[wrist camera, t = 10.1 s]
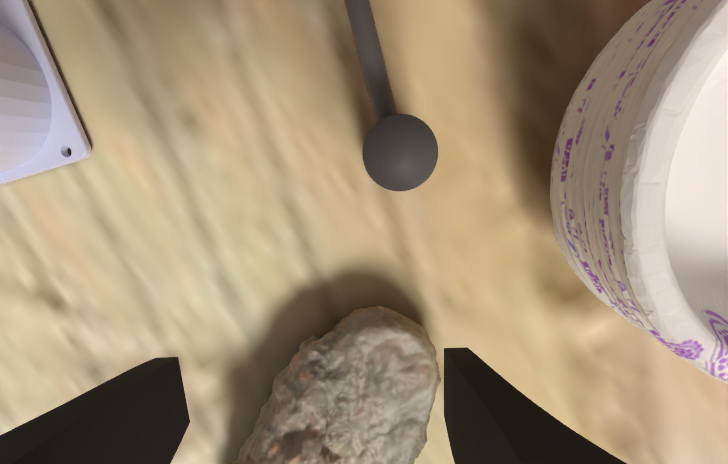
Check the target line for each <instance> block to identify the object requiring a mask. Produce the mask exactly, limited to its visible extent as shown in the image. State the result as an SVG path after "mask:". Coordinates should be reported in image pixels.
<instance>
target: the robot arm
mask: <svg viewBox="0 0 728 464" xmlns="http://www.w3.org/2000/svg"><path fill="white" fill-rule="evenodd" d="M68 148H70V149H71V152H72V153H71V156H70V155H69V154H68ZM90 154H91V146H90V144H89V141H88V139H87V137H86V135H85V132H84V130H83V128H82V125H81V123H80V121H79V118H78V116H77V114H76V112H75V109H74V107H73V105H72V102H71V100H70V98H69V95H68V93H67V91H66V89H65V86H64V84H63V82H62V79H61V77H60V75H59V72H58V70H57V68H56V66H55V63H54V61H53V59H52V56H51V54H50V52H49V49H48V47H47V45H46V43H45V40H44V38H43V36H42V33H41V31H40V29H39V26H38V24H37V22H36V19H35V17H34V15H33V13H32V10H31V8H30V6H29V3H28V1H27V0H0V185H2V184H5V183H9V182H12V181H15V180H18V179H22V178H25V177H28V176H31V175H35V174H38V173H41V172H44V171H48V170H51V169H54V168H57V167H61V166H64V165H67V164H70V163H74V162H77V161H80V160H83V159H86V158H88V157H89V156H90ZM444 417H445V422H446V427H447V432H448V437H449V441H450V446H451V451H452V455H453V458H454V461H455V464H626V463H625V462H623V461H621V460H620V459H618V458H616V457H614V456H613V455H611V454H609V453H608V452H606V451H605V450H603V449H601V448H600V447H598V446H597V445H595V444H593V443H592V442H590V441H589V440H587V439H585V438H584V437H582V436H581V435H579V434H577V433H576V432H575V431H573V430H572V429H570V428H569V427H567V426H566V425H564V424H563V423H561V422H560V421H558V420H557V419H556V418H554V417H553V416H551V415H550V414H549V413H547V412H546V411H545V410H543V409H542V408H540V407H539V406H538V405H536V404H535V403H534V402H532V401H531V400H530V399H528V398H527V397H526V396H525V395H523V394H522V393H521V392H520V391H518V390H517V389H516V388H515V387H513V386H512V385H511V384H510V383H508V382H507V381H506V380H505V379H504V378H502V377H501V376H500V375H499V374H498V373H496V372H495V371H494V370H493V369H492V368H491V367H489V366H488V365H487V364H486V363H485V362H484V361H483V360H481V359H480V358H479V357H478V356H477V355H476V354H474V353H473V352H472V351H471V350H470V349H468V348H444ZM189 423H190V420H189V414H188V409H187V403H186V398H185V393H184V387H183V382H182V376H181V371H180V365H179V360H178V357H168V358H155V359H152V360H150V361H147V362H145V363H143V364H141V365H138V366H136V367H134V368H132V369H130V370H128V371H126V372H124V373H122V374H120V375H118V376H116V377H114V378H113V379H111V380H109V381H107V382H105V383H103V384H101V385H99V386H97V387H95V388H93V389H92V390H90V391H88V392H86V393H84V394H82V395H80V396H78V397H76V398H74V399H72V400H71V401H69V402H67V403H65V404H63V405H61V406H59V407H57V408H55V409H53V410H51V411H49V412H47V413H45V414H43V415H41V416H39V417H37V418H35V419H33V420H31V421H29V422H27V423H25V424H23V425H21V426H19V427H17V428H15V429H13V430H11V431H9V432H7V433H4V434H2V435H0V464H170V463H171V461H172V459H173V457H174V455H175V453H176V451H177V449H178V447H179V445H180V443H181V441H182V438H183V436H184V434H185V432H186V429H187V427H188V425H189Z"/></svg>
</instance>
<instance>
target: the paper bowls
mask: <svg viewBox="0 0 728 464" xmlns="http://www.w3.org/2000/svg"><path fill="white" fill-rule="evenodd" d="M550 203H551V209H552V217H553V224H554V229H555V235H556V238H557V240H558V242H559V244H560V246H561V248H562V250H563V253H564V255H565V257H566V259H567V261H568V263H569V265H570V267H571V268H572V269H573V271H574V272H575V273H576V274H577V276H578V277H579V278H580V279H581V280H582V281H583V283H584V284H585V285H586V286H587V287H588V288H589V289H590V290H591V291H592V292H593V293H594V294H595V295H596V297H598V298H599V299H600V300H601V301H602V302H604V303H605V304H606V305H608V306H609V307H611V308H612V309H613V310H614V311H616V312H617V313H618V314H619V315H621V316H622V317H623V318H625V319H626V320H627V321H629V322H630V323H632V324H633V325H635V326H636V327H638V328H639V329H641V330H643V331H644V332H646V333H647V334H648V335H650V336H651V337H652V338H654V339H655V340H657V341H658V342H660V343H661V344H663V345H664V346H666V347H667V348H668V349H669V350H671V351H672V352H674V353H675V354H677V355H678V356H679V357H680V358H682V359H684V360H685V361H687V362H689V363H691V364H692V365H693V366H694V367H696V368H698V369H699V370H701V371H702V372H704V373H706V374H707V375H709V376H711V377H713V378H715V379H717V380H720V381H722V382H724V383H726V384H728V0H651V1H649V2H648V3H647V4H645V5H644V6H643V7H642V8H641V9H640V10H639V11H637V12H636V13H635V14H634V15H633V16H632V17H631V18H630V19H629V20H628V21H627V22H626V23H625V24H624V25H623V26H622V27H621V28H620V30H619V31H618V32H617V33H616V34H615V36H614V37H613V38H612V39H611V40H610V41H609V42H608V43H607V45H606V46H605V47H604V48H603V50H602V51H601V52H600V53H599V54H598V56H597V57H596V59H595V60H594V61H593V63H592V64H591V66H590V67H589V69H588V71H587V72H586V74H585V76H584V77H583V79H582V80H581V82H580V83H579V85H578V87H577V89H576V90H575V92H574V94H573V96H572V98H571V100H570V103H569V105H568V107H567V109H566V112H565V115H564V117H563V120H562V123H561V126H560V130H559V133H558V136H557V139H556V143H555V147H554V153H553V158H552V169H551V178H550Z"/></svg>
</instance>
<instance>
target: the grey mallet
mask: <svg viewBox="0 0 728 464" xmlns="http://www.w3.org/2000/svg"><path fill="white" fill-rule="evenodd" d="M345 4H346V8H347V12H348V16H349V20H350V24H351V27H352V31H353V35H354V39H355V43H356V47H357V51H358V54H359V58H360V62H361V66H362V70H363V74H364V78H365V82H366V85H367V89H368V93H369V97H370V101H371V105H372V109H373V112H374V116H375V120H376V124H375V125H374V126H373V127H372V129H371V130H370V131H369V133H368V134H367V137H366V139H365V142H364V146H363V161H364V165H365V168H366V170H367V172H368V174H369V175H370V177H371V178H372V179H373V180H374V181H375V182H376V183H377V184H379V185H380V186H382V187H384V188H386V189H389V190H393V191H406V190H410V189H413V188H416V187H418V186H419V185H421V184H422V183H423V182H425V181H426V180H427V179H428V178H429V176H430V175H431V174H432V172H433V170H434V168H435V166H436V163H437V158H438V146H437V141H436V138H435V136H434V134H433V132H432V130H431V129H430V128H429V126H428V125H427V124H426V123H424V122H423V121H422V120H420V119H418V118H417V117H414V116H411V115H407V114H397V112H396V108H395V104H394V100H393V96H392V91H391V87H390V83H389V79H388V75H387V71H386V67H385V63H384V59H383V55H382V51H381V47H380V43H379V39H378V34H377V30H376V26H375V22H374V18H373V14H372V10H371V6H370V2H369V0H345Z"/></svg>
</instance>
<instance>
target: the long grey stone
mask: <svg viewBox="0 0 728 464" xmlns="http://www.w3.org/2000/svg"><path fill="white" fill-rule="evenodd" d="M440 382H441V378H440V375H439V367H438V363H437V362H436V350H435V347H434V345H433V344H432V343H431V341H430V339H429V337H428V335H427V332H426V331H425V330H424V328H423V327H422V326H421V325H419V324H417V323H416V322H414V321H413V320H411V319H409V318H407V317H405V316H403V315H402V314H401V313H399V312H396V311H394V310H392V309H390V308H384V307H382V306H373V307H368V308H358V309H355V310H354V311H353V312H352V313H351V314H349V316H347V317H344V318H342V319H341V321H340V322H339V323H338V324H336V325H335V326H334V328H333V329H332V331H331V332H328V333H327V334H326V335H324V336H323V337H322V338H320V339H319V338H317V337H316V336H315V335H313V336H311V337H310V338H307V339H306V340H304V341H303V342H302V343H301V344H300V347H299V352H298V353H296V354H295V355H294V356H293V357H292V359H291V362H290V364H289V365H288V366H287V367H286V368H285V369H283V370H281V371H280V372H279V373H278V374H277V375H276V378H275V379H274V382H273V386H272V392H273V394H272V395H271V396H270V397H269V399H268V402H267V403H266V404H264V405H263V406H262V407H261V408H260V416H259V418H258V420H257V421H256V422H255V424H254V429H253V432H252V434H251V435H250V436H249V437H248V439H247V440H246V442H245V443H244V444H243V446H242V447H241V448H240V451H239V458H238V460H237V461H235V462H234V463H230V464H414V460H415V459H416V458H418V456H419V454H420V452H421V451H422V449H423V448H424V445H425V444H426V442H427V435H426V429H427V425H428V422H429V418H430V412H431V410H432V406H433V403H434V400H435V394H436V391H437V387H438V385H439V383H440Z"/></svg>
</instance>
